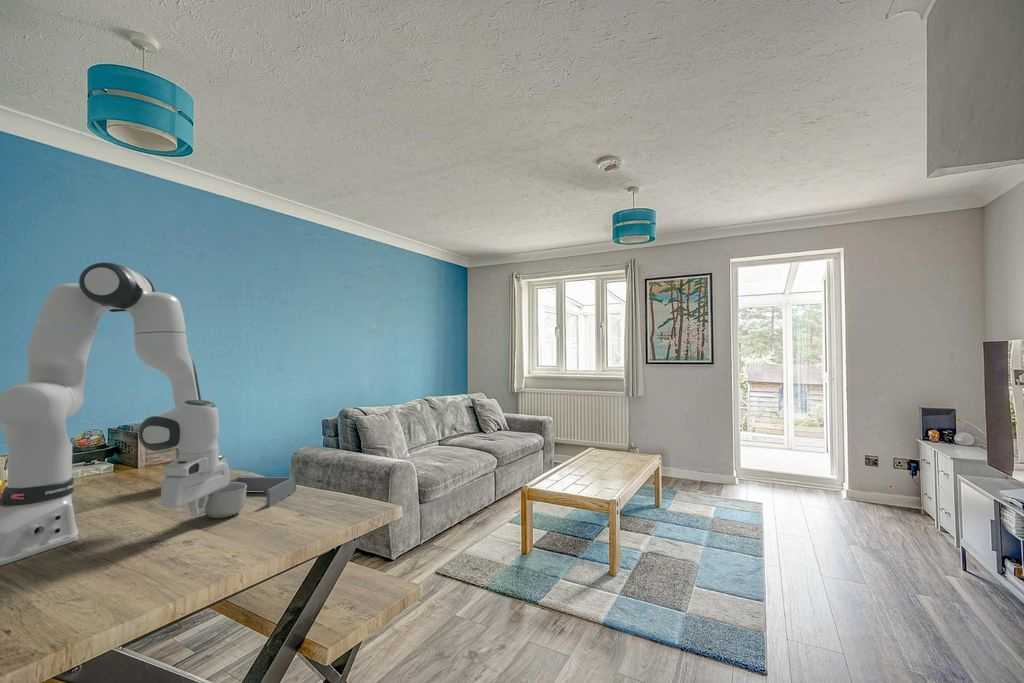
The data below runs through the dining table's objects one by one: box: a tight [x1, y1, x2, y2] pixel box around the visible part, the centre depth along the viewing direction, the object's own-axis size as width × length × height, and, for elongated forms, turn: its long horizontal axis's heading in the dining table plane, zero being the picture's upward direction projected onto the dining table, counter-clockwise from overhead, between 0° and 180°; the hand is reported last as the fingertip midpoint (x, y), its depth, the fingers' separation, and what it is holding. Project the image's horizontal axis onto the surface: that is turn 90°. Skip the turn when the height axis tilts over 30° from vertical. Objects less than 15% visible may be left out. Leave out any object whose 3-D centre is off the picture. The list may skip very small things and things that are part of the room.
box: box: [230, 476, 297, 507], centre depth 145 cm, size 15×20×5 cm
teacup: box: [203, 482, 247, 519], centre depth 129 cm, size 14×11×8 cm
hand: (197, 514), depth 121 cm, fingers closed
